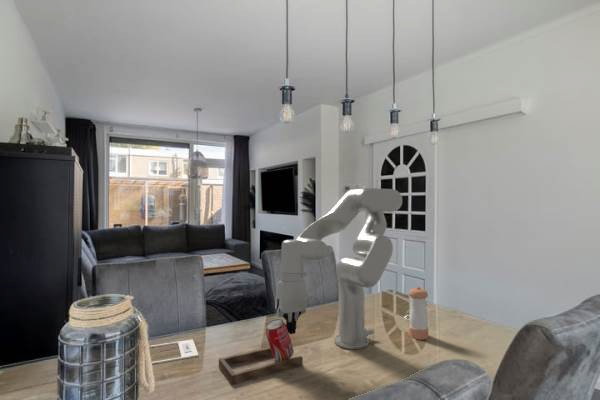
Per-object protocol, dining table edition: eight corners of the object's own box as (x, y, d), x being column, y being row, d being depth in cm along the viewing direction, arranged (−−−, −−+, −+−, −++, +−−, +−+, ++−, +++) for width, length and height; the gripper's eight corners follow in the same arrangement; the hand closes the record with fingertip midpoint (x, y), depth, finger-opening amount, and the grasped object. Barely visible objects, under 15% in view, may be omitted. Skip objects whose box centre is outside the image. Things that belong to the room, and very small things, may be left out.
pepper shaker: (407, 337, 130) (407, 287, 130) (410, 331, 136) (410, 284, 136) (427, 341, 126) (426, 289, 127) (429, 334, 133) (429, 286, 133)
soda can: (273, 353, 113) (263, 321, 111) (293, 347, 114) (284, 315, 112) (274, 366, 106) (263, 332, 104) (295, 359, 107) (285, 325, 105)
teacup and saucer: (426, 318, 153) (426, 309, 153) (422, 323, 147) (422, 314, 147) (406, 315, 158) (406, 306, 158) (401, 319, 151) (401, 310, 151)
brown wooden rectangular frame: (284, 350, 117) (284, 343, 117) (302, 365, 106) (302, 357, 106) (218, 366, 105) (218, 358, 105) (232, 384, 94) (232, 375, 94)
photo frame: (198, 354, 112) (138, 364, 105) (198, 357, 112) (138, 368, 105) (192, 338, 125) (139, 346, 118) (192, 341, 125) (139, 350, 118)
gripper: (305, 273, 119) (304, 325, 118) (267, 276, 111) (265, 332, 111) (317, 277, 112) (316, 332, 112) (277, 281, 105) (275, 340, 104)
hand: (291, 332), depth 111 cm, fingers closed
